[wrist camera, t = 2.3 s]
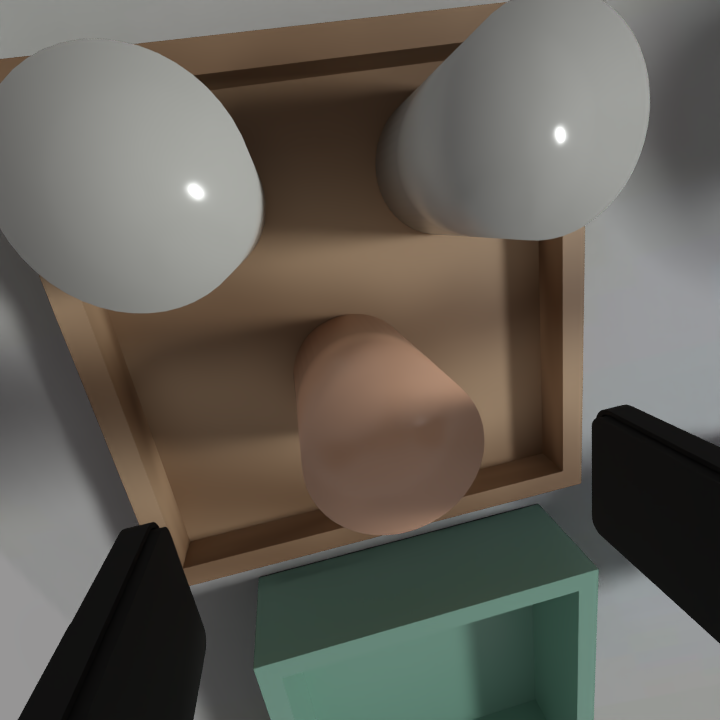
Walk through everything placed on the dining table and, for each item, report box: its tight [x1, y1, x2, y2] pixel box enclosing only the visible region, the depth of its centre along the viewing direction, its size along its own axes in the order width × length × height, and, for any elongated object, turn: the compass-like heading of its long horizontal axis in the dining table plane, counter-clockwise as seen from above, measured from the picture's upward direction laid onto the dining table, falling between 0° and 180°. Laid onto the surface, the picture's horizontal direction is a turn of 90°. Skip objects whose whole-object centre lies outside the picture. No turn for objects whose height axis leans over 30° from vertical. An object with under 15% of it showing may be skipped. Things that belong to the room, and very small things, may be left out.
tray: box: [0, 2, 585, 586], centre depth 15 cm, size 16×16×2 cm
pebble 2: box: [375, 0, 650, 241], centre depth 11 cm, size 4×4×6 cm
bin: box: [253, 504, 599, 720], centre depth 19 cm, size 13×13×4 cm
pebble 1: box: [0, 39, 266, 313], centre depth 10 cm, size 4×4×6 cm
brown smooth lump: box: [293, 314, 484, 535], centre depth 13 cm, size 4×4×6 cm
